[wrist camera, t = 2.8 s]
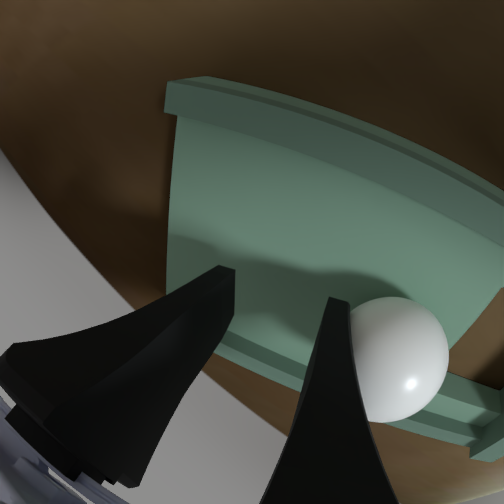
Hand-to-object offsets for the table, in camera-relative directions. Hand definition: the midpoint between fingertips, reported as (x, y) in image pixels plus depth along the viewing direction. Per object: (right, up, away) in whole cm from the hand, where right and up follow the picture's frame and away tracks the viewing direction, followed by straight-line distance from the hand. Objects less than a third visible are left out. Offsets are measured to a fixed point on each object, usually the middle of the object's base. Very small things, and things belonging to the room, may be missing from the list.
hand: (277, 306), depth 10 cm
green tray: (+6, 0, +1) cm, 6 cm away
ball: (+3, -2, -1) cm, 4 cm away
